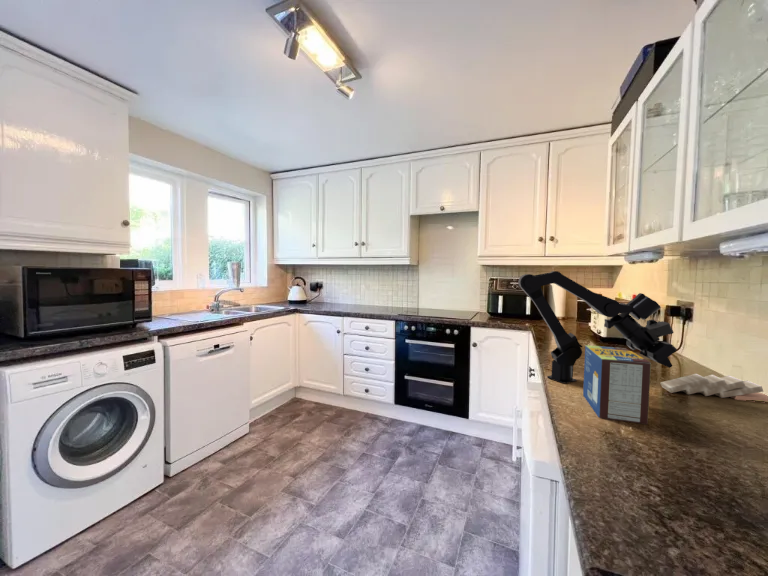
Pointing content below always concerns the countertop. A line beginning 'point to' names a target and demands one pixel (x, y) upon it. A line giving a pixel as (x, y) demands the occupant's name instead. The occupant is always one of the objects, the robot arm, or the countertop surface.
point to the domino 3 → (731, 384)
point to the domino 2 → (713, 383)
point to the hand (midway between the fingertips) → (670, 366)
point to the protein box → (617, 383)
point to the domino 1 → (684, 383)
